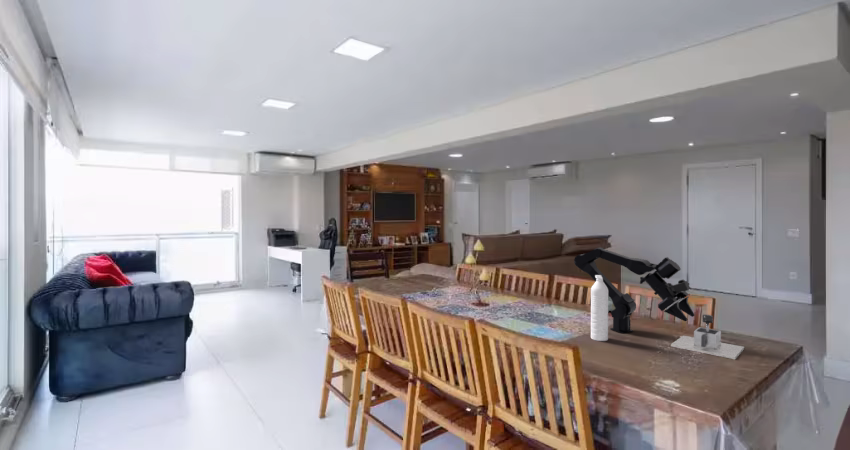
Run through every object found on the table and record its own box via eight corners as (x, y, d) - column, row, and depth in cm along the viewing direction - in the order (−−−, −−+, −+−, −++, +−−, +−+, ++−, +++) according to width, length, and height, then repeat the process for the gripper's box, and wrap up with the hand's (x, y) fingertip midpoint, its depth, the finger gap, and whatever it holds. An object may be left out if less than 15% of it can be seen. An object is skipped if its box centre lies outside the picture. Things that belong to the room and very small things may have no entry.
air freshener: (604, 307, 225) (604, 288, 224) (619, 309, 219) (619, 290, 218) (593, 310, 218) (593, 291, 217) (609, 313, 212) (609, 293, 211)
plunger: (696, 343, 160) (697, 315, 160) (700, 340, 164) (701, 313, 163) (713, 347, 156) (714, 318, 156) (717, 343, 160) (718, 315, 159)
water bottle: (609, 341, 168) (609, 278, 167) (591, 340, 170) (591, 278, 169) (606, 335, 176) (606, 275, 175) (589, 334, 178) (589, 274, 177)
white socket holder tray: (671, 346, 162) (671, 329, 162) (683, 337, 172) (683, 322, 172) (735, 359, 148) (735, 341, 147) (744, 348, 158) (744, 332, 158)
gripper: (667, 276, 160) (701, 310, 153) (683, 270, 173) (714, 302, 166) (645, 294, 166) (676, 327, 159) (661, 287, 179) (690, 318, 172)
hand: (690, 318), depth 164 cm, fingers open, 9 cm apart
